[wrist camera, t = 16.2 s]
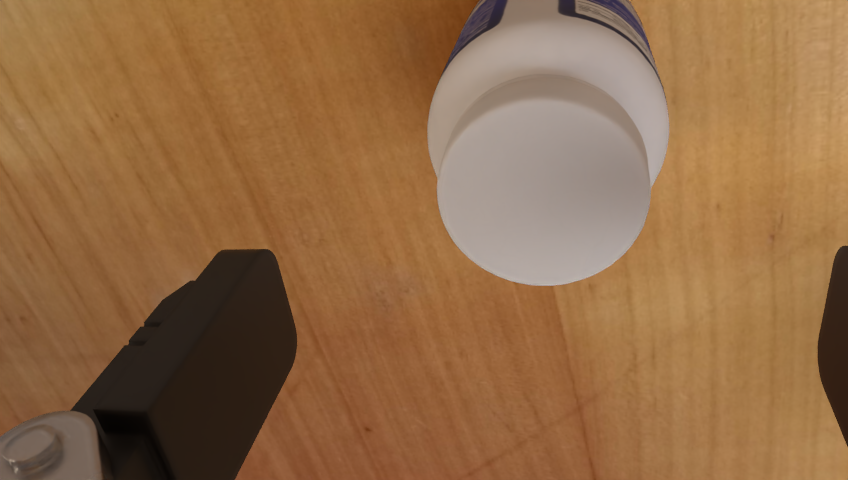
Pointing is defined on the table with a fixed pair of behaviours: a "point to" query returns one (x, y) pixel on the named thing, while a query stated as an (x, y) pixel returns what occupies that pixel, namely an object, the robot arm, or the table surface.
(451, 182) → the pill bottle
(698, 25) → the table surface
